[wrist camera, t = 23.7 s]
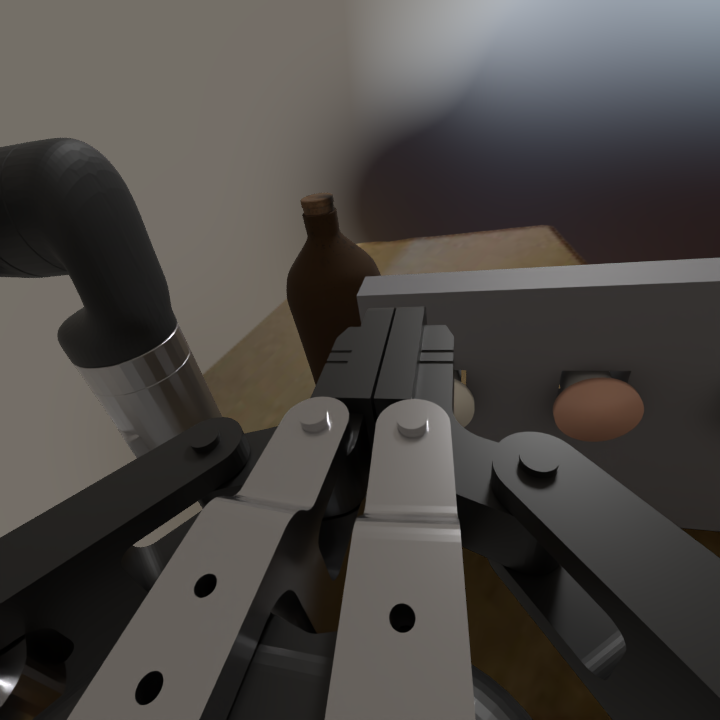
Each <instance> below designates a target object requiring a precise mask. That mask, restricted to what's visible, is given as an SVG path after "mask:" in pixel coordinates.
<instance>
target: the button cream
mask: <svg viewBox="0 0 720 720" xmlns="http://www.w3.org/2000/svg"><path fill="white" fill-rule="evenodd" d="M474 410H475V409H474V398H473V395H472V393H471V391H470V390H469V389H468V388H467V387H466V386H465V385H464V384H463V383H461V370H454V416H455V418H456V420H457V421H458V422H459V424H460V425H461V426H462V427H465V426H466V425H467V424H469V422H470V421H471V420H472V418H473V415H474Z"/></svg>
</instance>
